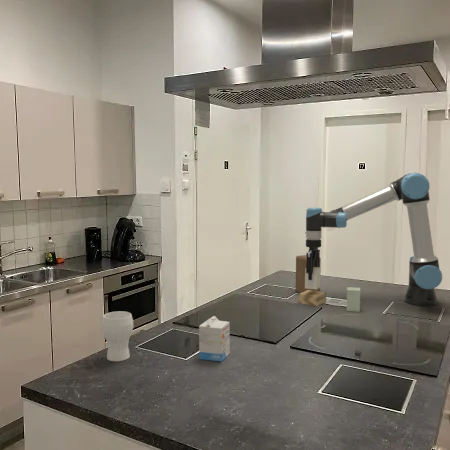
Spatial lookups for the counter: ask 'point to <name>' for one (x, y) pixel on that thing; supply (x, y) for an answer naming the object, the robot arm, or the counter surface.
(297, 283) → the wooden block
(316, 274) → the cream block
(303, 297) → the oak base
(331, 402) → the counter surface
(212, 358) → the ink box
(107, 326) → the cup
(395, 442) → the counter surface
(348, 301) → the sage block
